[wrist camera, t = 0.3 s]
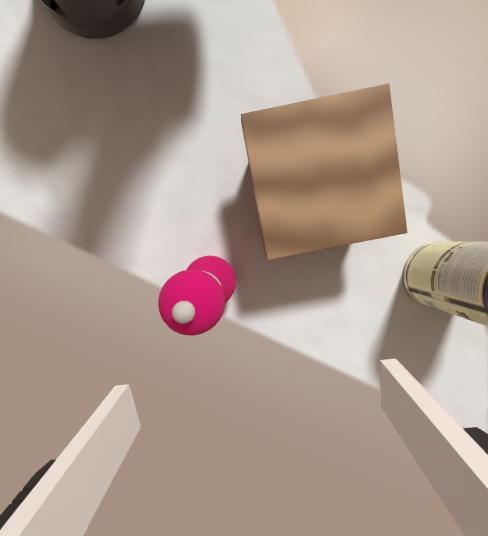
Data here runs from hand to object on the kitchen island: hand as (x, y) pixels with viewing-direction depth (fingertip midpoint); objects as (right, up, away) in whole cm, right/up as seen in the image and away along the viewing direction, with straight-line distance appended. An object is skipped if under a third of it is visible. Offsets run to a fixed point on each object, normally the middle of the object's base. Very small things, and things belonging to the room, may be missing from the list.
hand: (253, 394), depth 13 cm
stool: (+9, +18, +24) cm, 31 cm away
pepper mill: (-5, +5, +26) cm, 27 cm away
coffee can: (+29, +6, +26) cm, 39 cm away
